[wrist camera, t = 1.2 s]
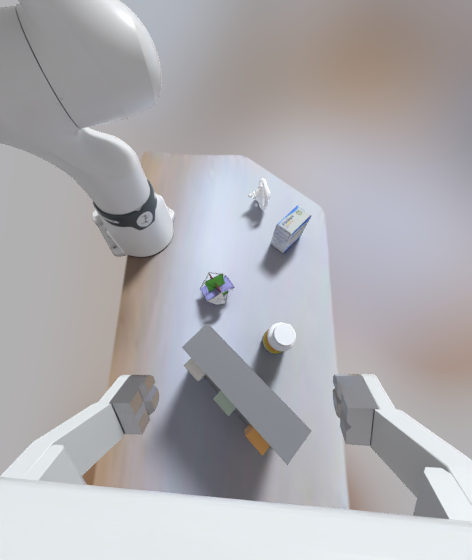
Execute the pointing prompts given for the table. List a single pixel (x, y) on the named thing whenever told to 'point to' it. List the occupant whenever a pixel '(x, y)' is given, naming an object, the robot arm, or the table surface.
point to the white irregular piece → (261, 194)
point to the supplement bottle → (279, 338)
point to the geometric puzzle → (216, 288)
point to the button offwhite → (194, 369)
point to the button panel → (247, 393)
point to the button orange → (256, 439)
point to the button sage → (224, 403)
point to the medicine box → (290, 229)
